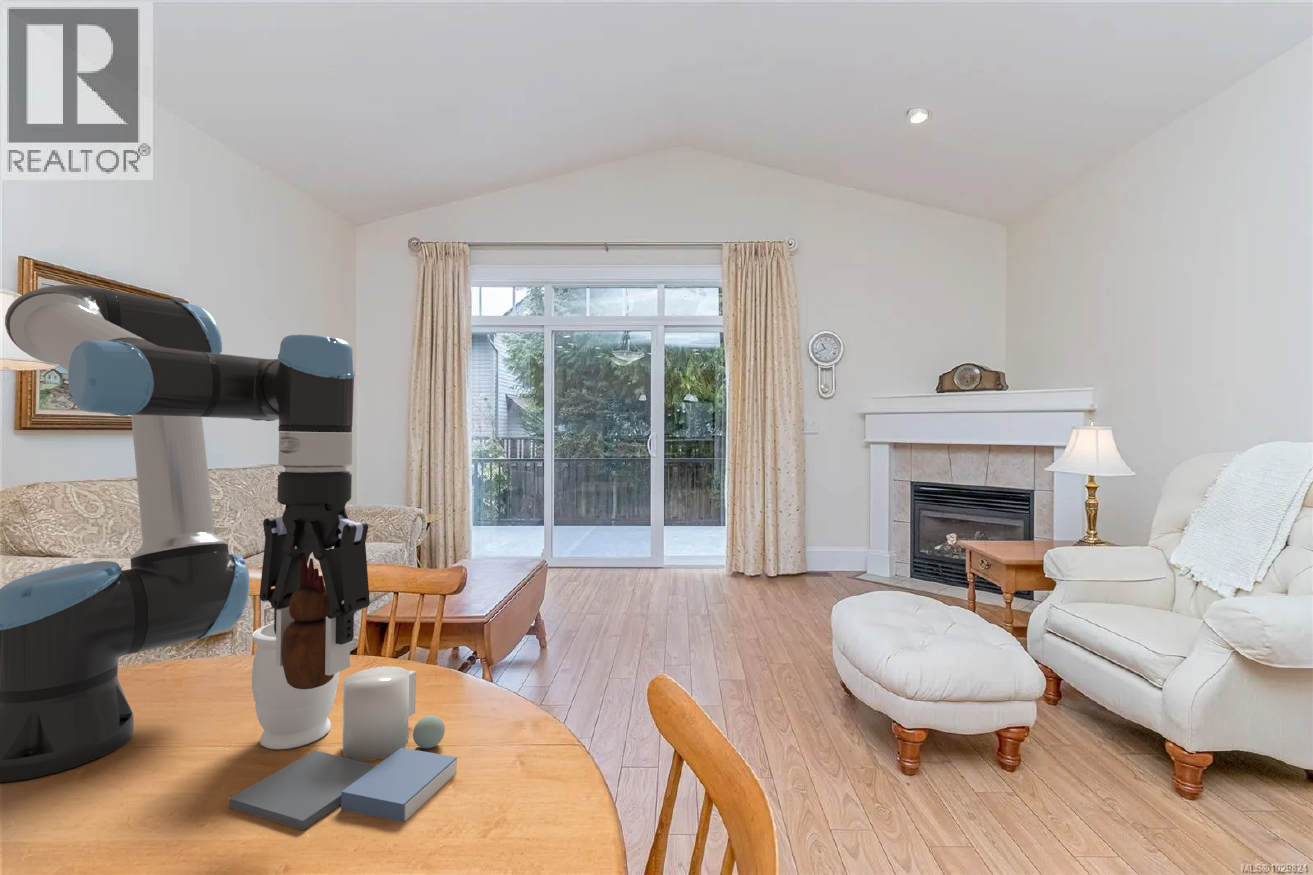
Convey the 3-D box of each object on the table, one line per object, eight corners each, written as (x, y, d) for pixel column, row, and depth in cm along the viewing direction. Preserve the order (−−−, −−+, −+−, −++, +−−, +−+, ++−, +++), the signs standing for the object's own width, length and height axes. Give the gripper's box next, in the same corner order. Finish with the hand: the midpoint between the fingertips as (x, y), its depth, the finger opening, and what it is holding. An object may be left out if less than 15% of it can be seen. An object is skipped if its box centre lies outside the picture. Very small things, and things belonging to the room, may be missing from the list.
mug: (328, 753, 78) (329, 684, 78) (389, 718, 88) (390, 656, 88) (376, 765, 75) (377, 694, 75) (434, 727, 85) (435, 664, 85)
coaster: (228, 807, 66) (229, 798, 66) (315, 758, 77) (315, 750, 77) (302, 830, 62) (303, 820, 63) (383, 775, 73) (383, 767, 73)
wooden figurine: (277, 680, 70) (279, 553, 70) (331, 669, 74) (333, 548, 74) (286, 700, 65) (289, 562, 65) (345, 686, 69) (347, 556, 69)
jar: (298, 760, 76) (300, 642, 76) (230, 750, 78) (232, 635, 78) (355, 721, 86) (357, 618, 87) (294, 714, 89) (296, 613, 89)
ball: (405, 751, 79) (406, 720, 79) (426, 737, 82) (427, 708, 82) (430, 757, 77) (431, 726, 77) (450, 742, 81) (451, 712, 81)
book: (340, 813, 66) (341, 791, 66) (400, 766, 76) (401, 747, 76) (403, 826, 64) (404, 804, 64) (456, 776, 74) (457, 757, 74)
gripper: (223, 468, 69) (220, 666, 69) (355, 473, 63) (352, 691, 63) (283, 466, 77) (279, 645, 76) (407, 470, 70) (404, 666, 70)
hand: (312, 666), depth 70 cm, fingers closed on wooden figurine, 7 cm apart
